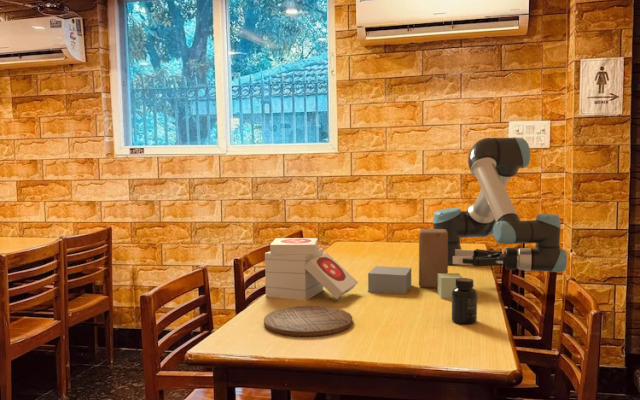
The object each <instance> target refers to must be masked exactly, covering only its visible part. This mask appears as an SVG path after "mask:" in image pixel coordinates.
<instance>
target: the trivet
mask: <svg viewBox="0 0 640 400" xmlns="http://www.w3.org/2000/svg"><path fill="white" fill-rule="evenodd" d="M263 325H264V328H265V329H266V331H268V332H270V333H272V334H276V335H279V336H282V337H283V336H284V337H291V338H319V337H327V336H333V335H337V334H340V333H343V332H346V331H348V330H349V329H350V328H351V327H352V326H353V316H352V315H351V313H350V312H348V311H346V310H343V309H340V308H337V307H330V306H323V305H299V306H291V307H290V306H289V307H284V308H280V309H279V308H278V309H276V310H273V311H271V312H269V313H267V314H266V315H265V316H264V318H263Z"/></svg>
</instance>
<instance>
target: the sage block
mask: <svg viewBox="0 0 640 400" xmlns="http://www.w3.org/2000/svg"><path fill="white" fill-rule="evenodd" d="M457 278H464V277H463V276H462V275H461V274H460V273H458V272H456V273H454V272H453V273H449V272H448V273H438V288H437V295H438V296H439V298H440V299H441V300H443V299H444V300H449V299H450V300H452V291H453V289H454V288H456V286H455V284H456V279H457Z"/></svg>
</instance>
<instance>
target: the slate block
mask: <svg viewBox="0 0 640 400" xmlns="http://www.w3.org/2000/svg"><path fill="white" fill-rule="evenodd" d="M367 279H368V281H367V285H368V287H367V291H368V293H380V294H381V293H383V294H398V295H399V294H400V295H406V294H407V293H408V292H409V290H410V289H411V287H412V267H401V266H385V265H383V266H381V265H375V266H374V267H373V268H372V269H371V270H370V271H369V272H368V274H367Z"/></svg>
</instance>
